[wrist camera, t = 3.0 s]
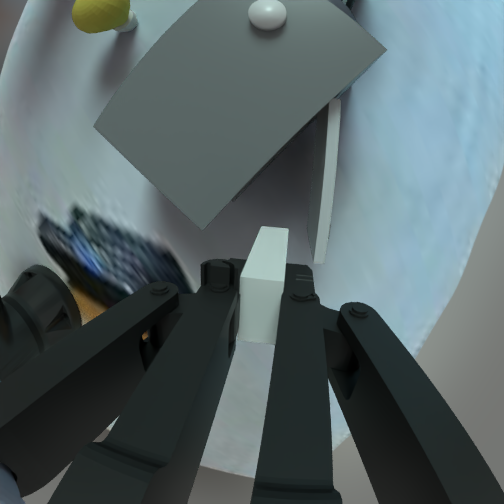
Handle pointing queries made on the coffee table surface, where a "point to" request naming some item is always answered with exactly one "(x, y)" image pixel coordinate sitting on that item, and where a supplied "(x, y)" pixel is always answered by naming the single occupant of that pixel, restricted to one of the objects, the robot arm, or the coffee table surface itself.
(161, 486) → the robot arm
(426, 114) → the coffee table surface
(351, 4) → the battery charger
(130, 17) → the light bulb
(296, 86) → the small grey cabinet
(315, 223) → the cabinet door
